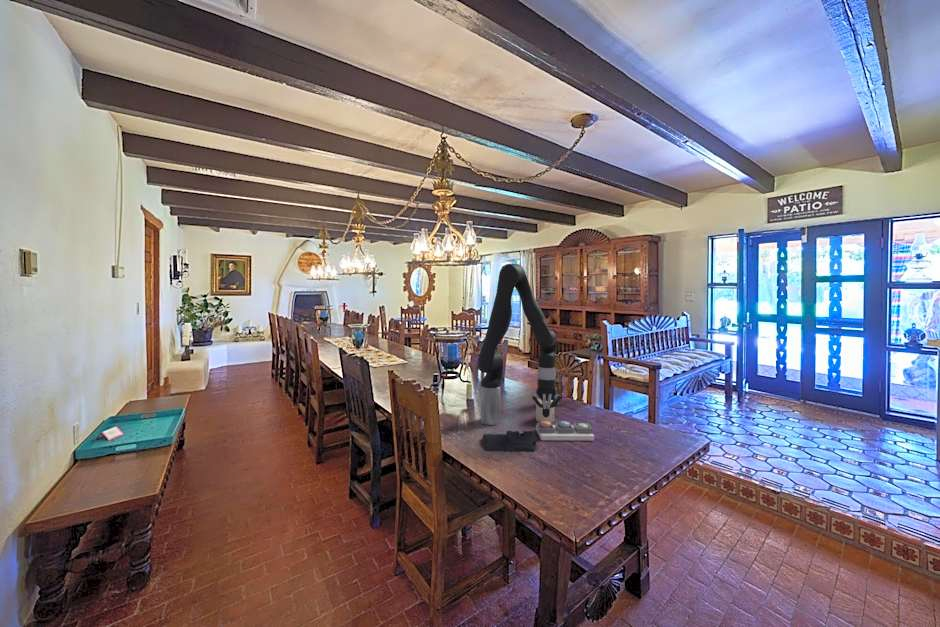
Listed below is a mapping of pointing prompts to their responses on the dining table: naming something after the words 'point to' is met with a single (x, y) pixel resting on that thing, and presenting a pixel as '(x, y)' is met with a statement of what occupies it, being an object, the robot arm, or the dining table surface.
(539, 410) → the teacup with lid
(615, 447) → the dining table surface
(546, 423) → the terracotta button
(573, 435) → the button panel
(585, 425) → the sage button
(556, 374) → the french press
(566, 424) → the slate button
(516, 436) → the dark slate chunk
